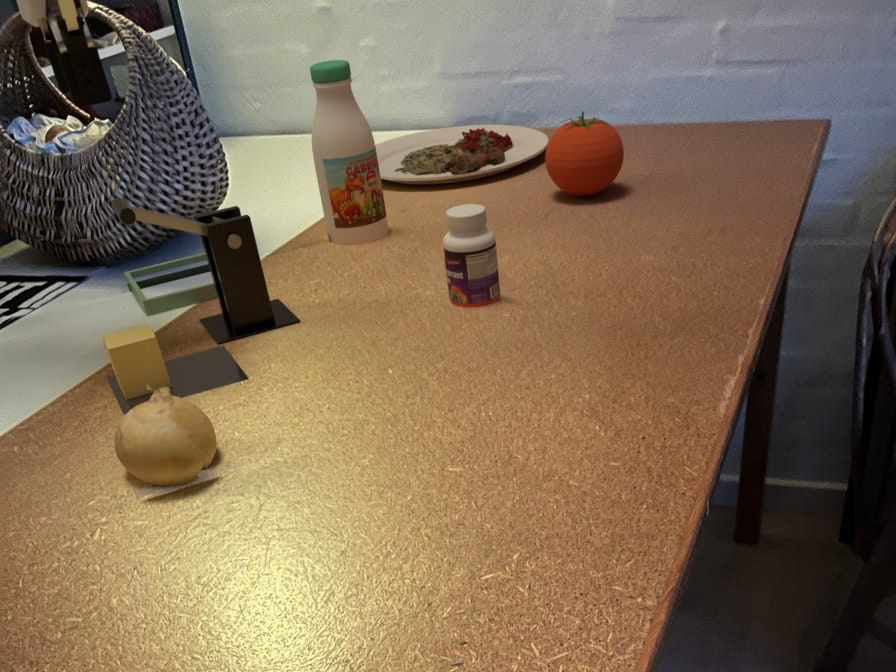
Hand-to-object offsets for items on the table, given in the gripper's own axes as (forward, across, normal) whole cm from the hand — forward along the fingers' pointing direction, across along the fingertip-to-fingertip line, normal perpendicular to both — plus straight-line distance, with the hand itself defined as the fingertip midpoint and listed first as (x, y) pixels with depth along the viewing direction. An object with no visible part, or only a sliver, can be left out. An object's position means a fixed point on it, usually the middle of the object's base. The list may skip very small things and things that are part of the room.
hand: (86, 96), depth 87 cm
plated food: (+24, -46, +54) cm, 75 cm away
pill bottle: (+24, +10, +31) cm, 41 cm away
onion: (+24, +27, -5) cm, 37 cm away
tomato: (+24, -16, +60) cm, 67 cm away
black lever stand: (+24, 0, +9) cm, 26 cm away
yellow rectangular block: (+23, +10, -4) cm, 25 cm away
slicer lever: (+13, 0, +4) cm, 14 cm away
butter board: (+24, +10, -1) cm, 26 cm away
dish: (+24, -16, +6) cm, 29 cm away
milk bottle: (+24, -20, +29) cm, 42 cm away
